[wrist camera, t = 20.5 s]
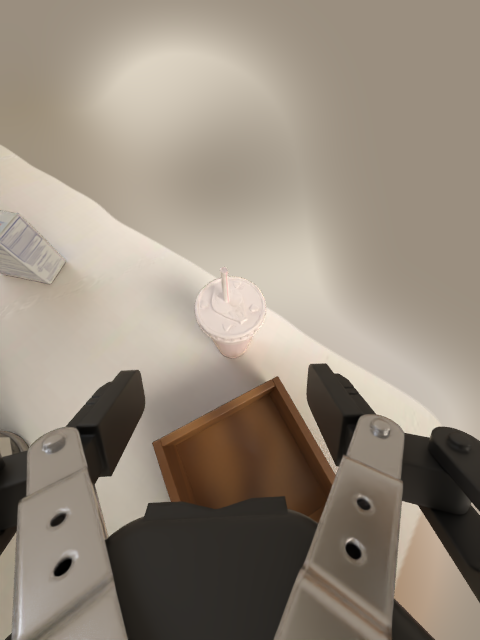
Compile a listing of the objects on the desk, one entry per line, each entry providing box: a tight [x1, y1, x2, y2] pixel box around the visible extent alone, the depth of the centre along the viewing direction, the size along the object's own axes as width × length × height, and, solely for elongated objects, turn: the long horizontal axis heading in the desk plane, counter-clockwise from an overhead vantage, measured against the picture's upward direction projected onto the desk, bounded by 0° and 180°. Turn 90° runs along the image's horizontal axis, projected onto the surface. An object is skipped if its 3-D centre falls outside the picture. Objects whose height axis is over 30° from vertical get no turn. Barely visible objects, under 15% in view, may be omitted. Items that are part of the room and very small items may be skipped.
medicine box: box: [0, 210, 66, 284], centre depth 31 cm, size 8×4×9 cm, turn 77°
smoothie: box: [195, 267, 266, 358], centre depth 24 cm, size 6×6×14 cm
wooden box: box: [152, 376, 336, 523], centre depth 22 cm, size 12×12×5 cm
